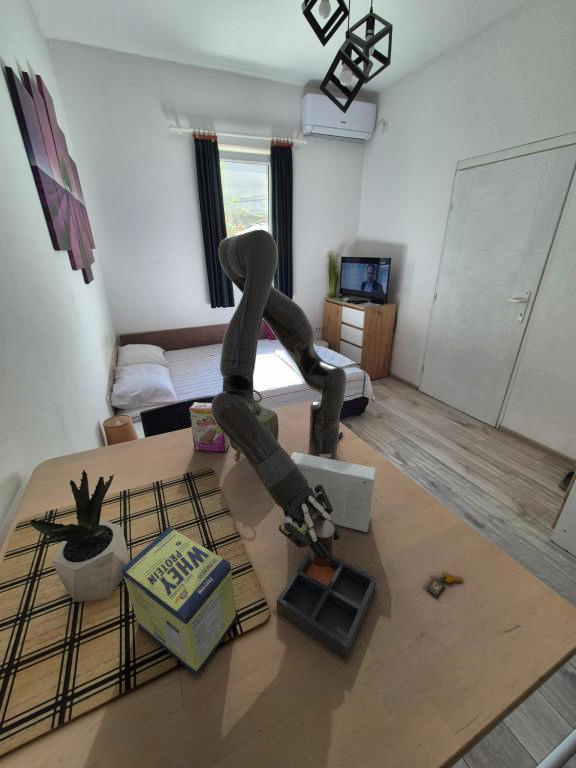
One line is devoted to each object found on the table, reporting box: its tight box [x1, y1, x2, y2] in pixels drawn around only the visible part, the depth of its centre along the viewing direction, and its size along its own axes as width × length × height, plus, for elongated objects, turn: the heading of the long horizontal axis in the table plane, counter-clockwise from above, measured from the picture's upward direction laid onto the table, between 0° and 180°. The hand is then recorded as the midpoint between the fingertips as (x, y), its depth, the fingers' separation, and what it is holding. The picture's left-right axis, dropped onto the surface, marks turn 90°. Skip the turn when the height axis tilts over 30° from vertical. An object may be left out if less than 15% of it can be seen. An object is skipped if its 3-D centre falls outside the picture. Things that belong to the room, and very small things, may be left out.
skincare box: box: [290, 451, 377, 533], centre depth 82 cm, size 21×5×16 cm, turn 71°
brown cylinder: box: [310, 519, 335, 567], centre depth 64 cm, size 4×4×8 cm
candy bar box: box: [188, 401, 230, 453], centre depth 109 cm, size 11×5×16 cm, turn 84°
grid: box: [276, 549, 378, 660], centre depth 64 cm, size 14×14×4 cm
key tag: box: [426, 573, 463, 597], centre depth 68 cm, size 8×3×1 cm, turn 116°
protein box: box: [121, 526, 238, 677], centre depth 57 cm, size 10×16×16 cm
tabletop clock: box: [229, 388, 280, 458], centre depth 102 cm, size 14×9×25 cm, turn 58°
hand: (331, 547), depth 63 cm, fingers closed on brown cylinder, 4 cm apart
